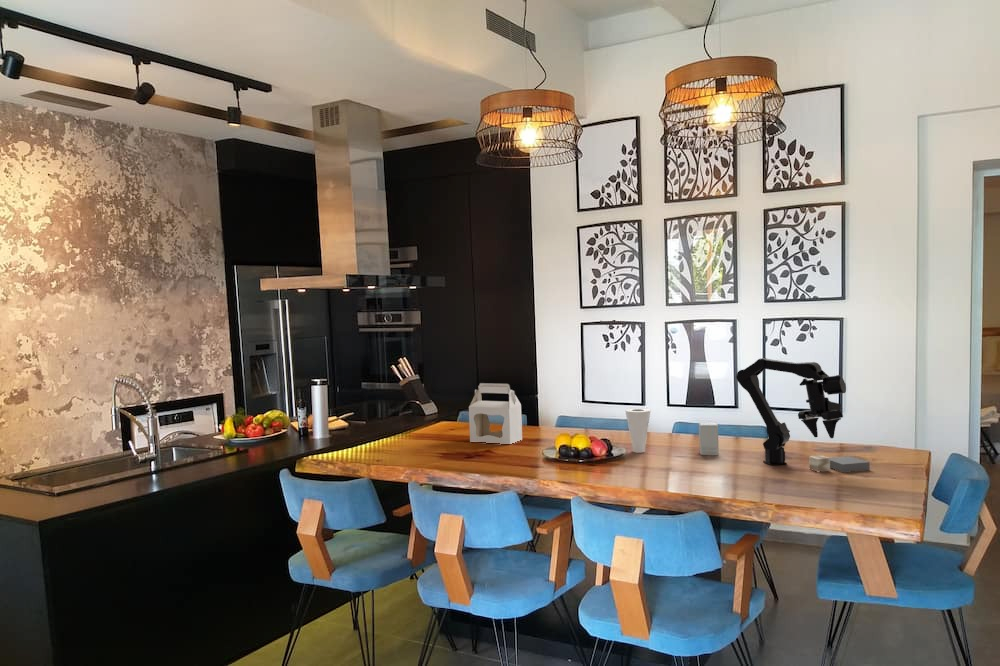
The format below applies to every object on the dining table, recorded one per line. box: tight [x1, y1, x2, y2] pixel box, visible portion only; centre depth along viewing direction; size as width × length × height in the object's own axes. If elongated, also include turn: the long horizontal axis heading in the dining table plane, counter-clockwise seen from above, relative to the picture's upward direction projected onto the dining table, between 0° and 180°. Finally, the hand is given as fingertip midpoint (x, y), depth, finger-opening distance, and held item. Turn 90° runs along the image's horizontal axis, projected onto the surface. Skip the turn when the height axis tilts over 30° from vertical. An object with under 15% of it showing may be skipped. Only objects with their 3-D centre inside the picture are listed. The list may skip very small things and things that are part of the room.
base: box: [829, 455, 871, 473], centre depth 263 cm, size 11×11×3 cm
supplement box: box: [698, 422, 720, 456], centre depth 296 cm, size 7×7×13 cm
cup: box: [625, 407, 651, 454], centre depth 304 cm, size 11×11×18 cm
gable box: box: [468, 382, 523, 445], centre depth 338 cm, size 22×13×28 cm, turn 63°
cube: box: [808, 454, 831, 472], centre depth 261 cm, size 5×5×5 cm
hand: (824, 437), depth 261 cm, fingers open, 9 cm apart
